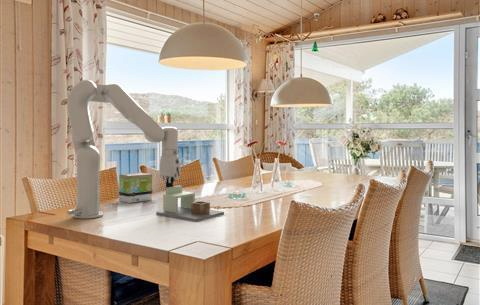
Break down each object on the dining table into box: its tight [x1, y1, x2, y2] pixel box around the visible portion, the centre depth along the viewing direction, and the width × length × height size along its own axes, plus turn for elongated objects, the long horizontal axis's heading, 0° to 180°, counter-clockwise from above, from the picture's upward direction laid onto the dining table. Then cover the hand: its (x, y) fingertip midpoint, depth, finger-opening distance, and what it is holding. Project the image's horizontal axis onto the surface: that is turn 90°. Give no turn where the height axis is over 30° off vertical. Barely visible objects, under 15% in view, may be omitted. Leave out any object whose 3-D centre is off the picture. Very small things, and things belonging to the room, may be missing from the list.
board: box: [155, 206, 225, 223], centre depth 191 cm, size 20×24×5 cm
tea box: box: [118, 172, 153, 204], centre depth 224 cm, size 15×10×15 cm
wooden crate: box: [191, 200, 211, 215], centre depth 188 cm, size 6×6×5 cm
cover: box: [162, 185, 196, 213], centre depth 195 cm, size 13×8×10 cm, turn 146°
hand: (169, 190), depth 198 cm, fingers closed
